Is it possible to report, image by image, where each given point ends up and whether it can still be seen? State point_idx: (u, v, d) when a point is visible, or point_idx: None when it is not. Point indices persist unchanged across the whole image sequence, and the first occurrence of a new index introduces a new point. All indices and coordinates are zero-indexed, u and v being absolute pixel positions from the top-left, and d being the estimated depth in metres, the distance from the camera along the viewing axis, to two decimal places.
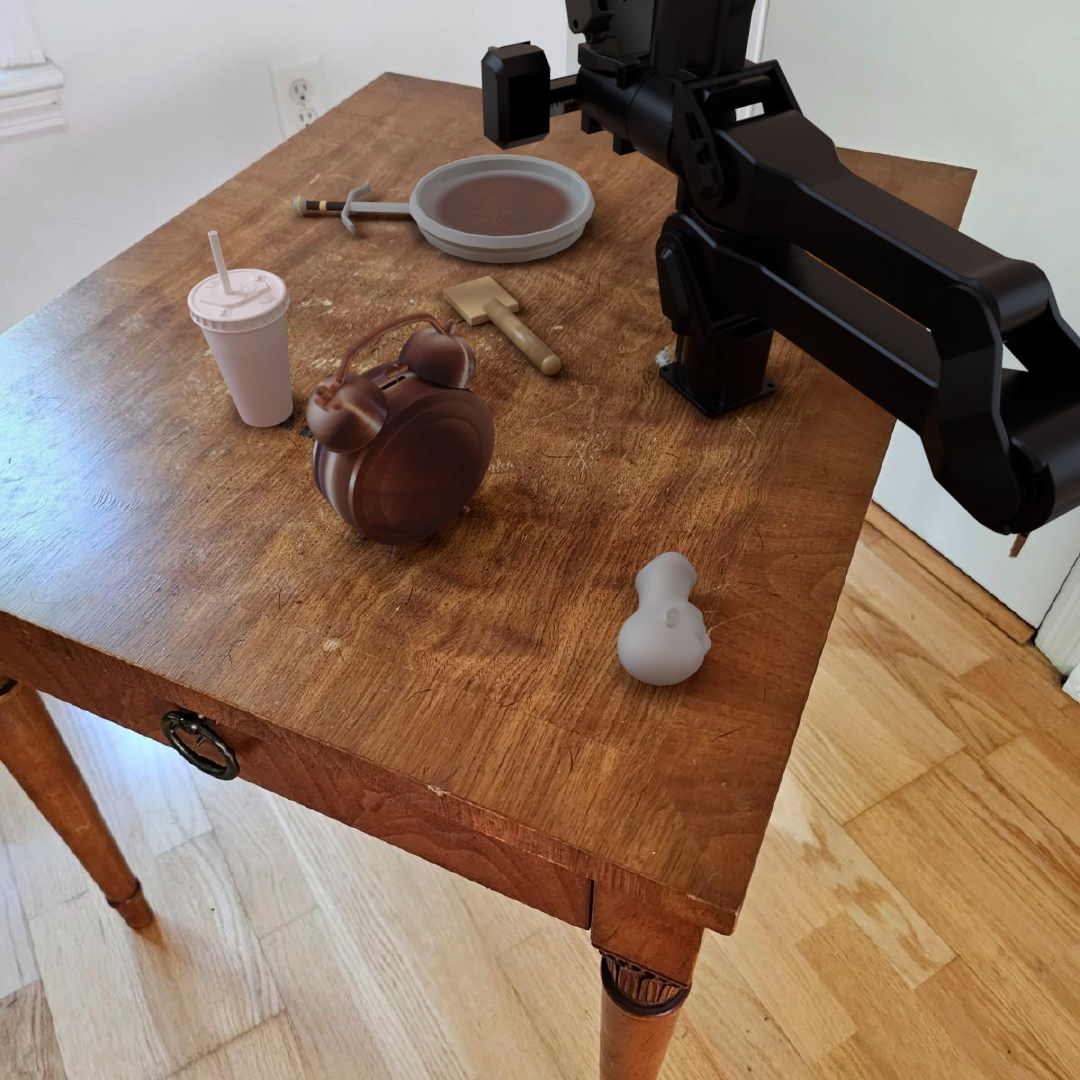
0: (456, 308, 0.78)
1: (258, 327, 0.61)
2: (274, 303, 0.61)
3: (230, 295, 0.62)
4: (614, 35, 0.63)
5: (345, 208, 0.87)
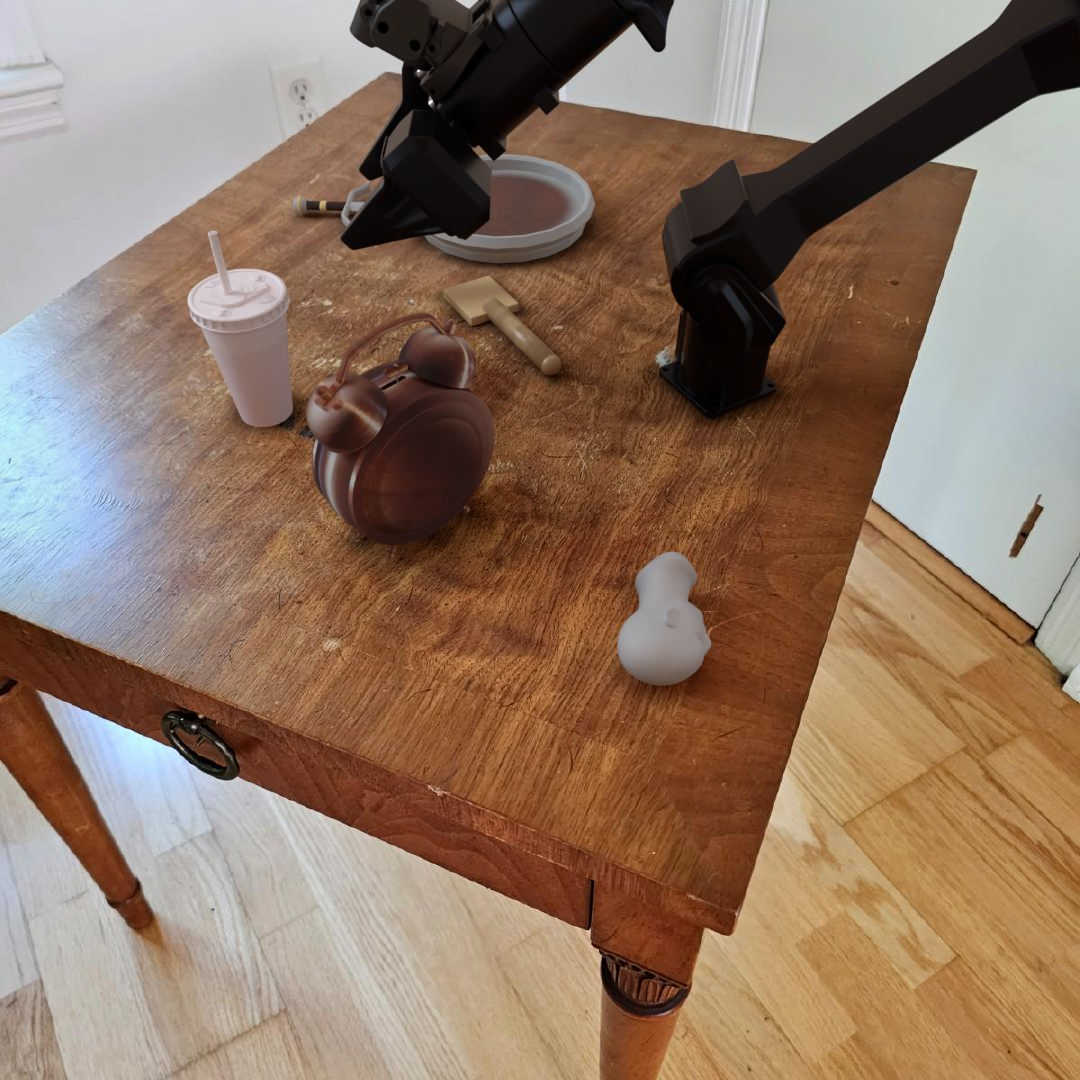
0: (456, 308, 0.78)
1: (258, 327, 0.61)
2: (274, 303, 0.61)
3: (230, 295, 0.62)
4: (445, 21, 0.52)
5: (345, 208, 0.87)
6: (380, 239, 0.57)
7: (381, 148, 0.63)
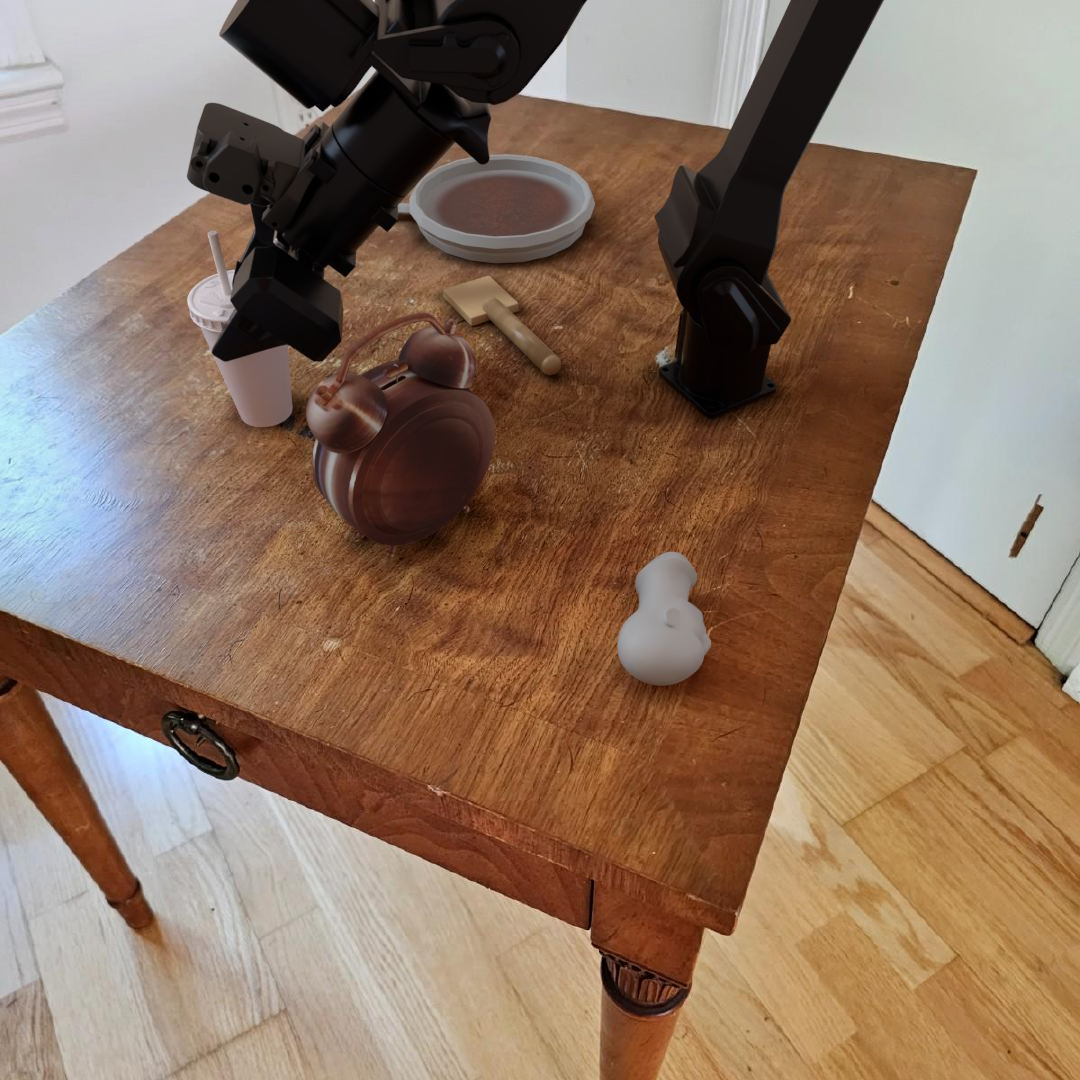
0: (456, 308, 0.78)
1: None
2: None
3: (230, 295, 0.62)
4: (275, 161, 0.54)
5: None
6: (248, 350, 0.61)
7: None
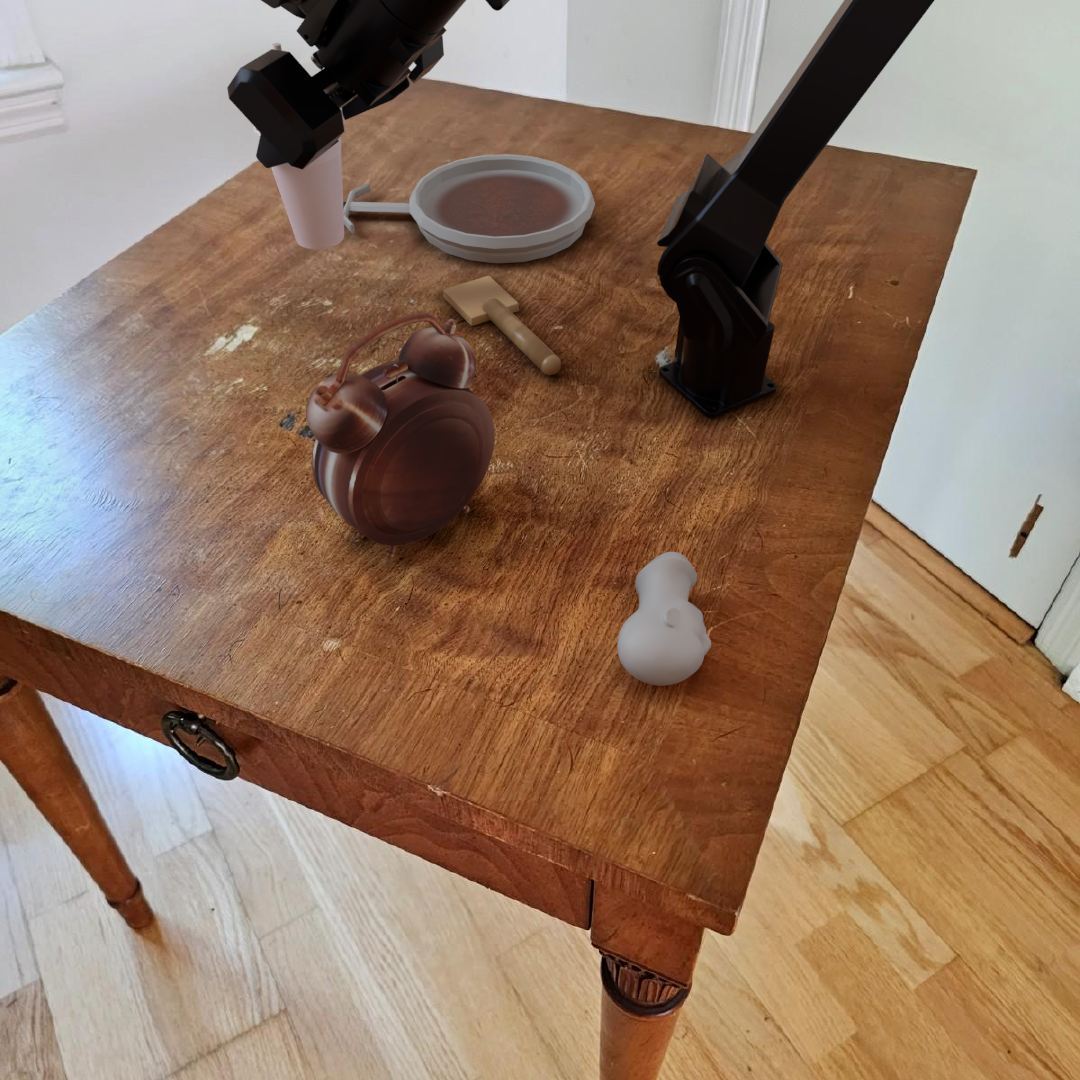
0: (456, 308, 0.78)
1: None
2: None
3: None
4: None
5: (345, 208, 0.87)
6: (280, 159, 0.66)
7: None
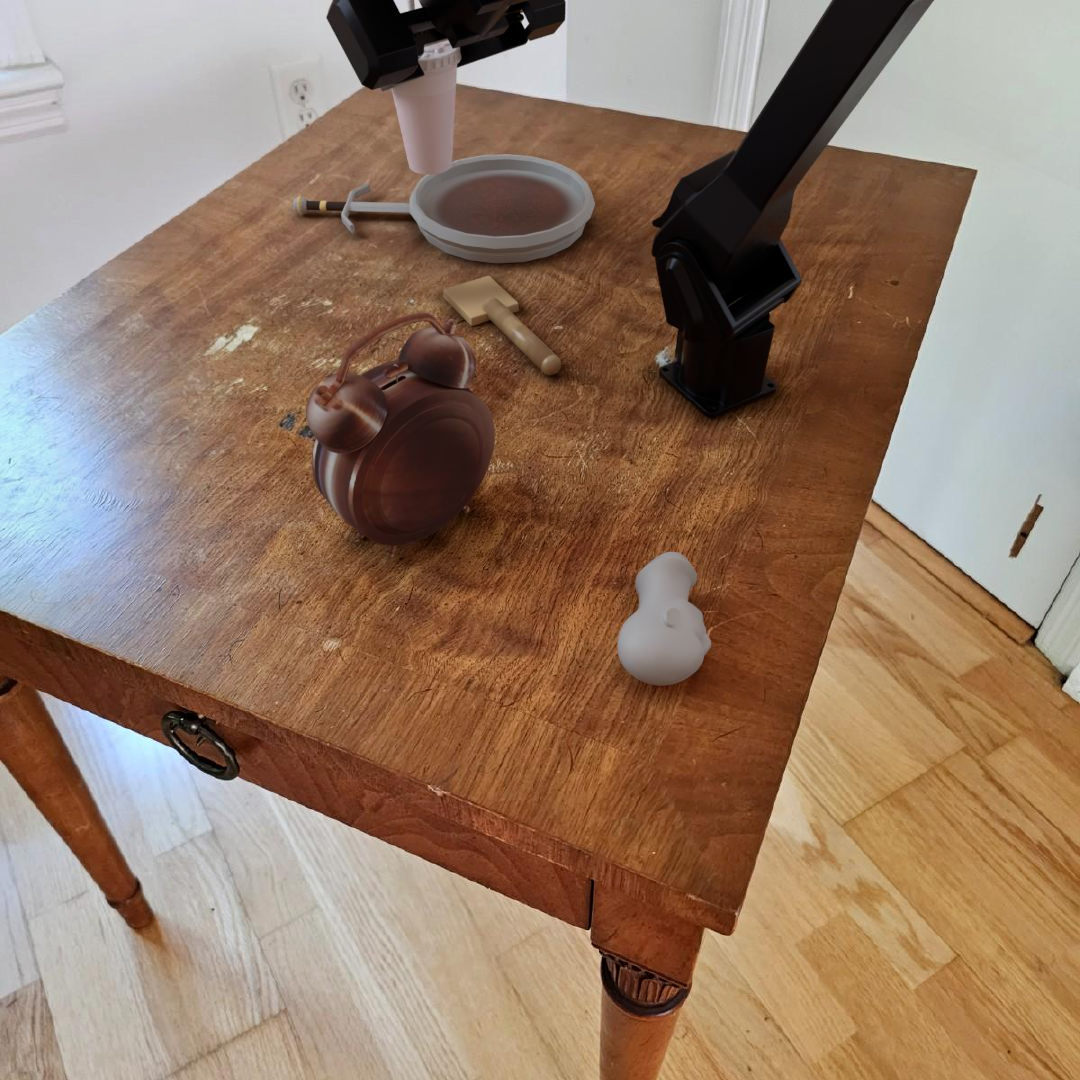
0: (456, 308, 0.78)
1: None
2: (425, 59, 0.74)
3: None
4: None
5: (345, 208, 0.87)
6: None
7: None
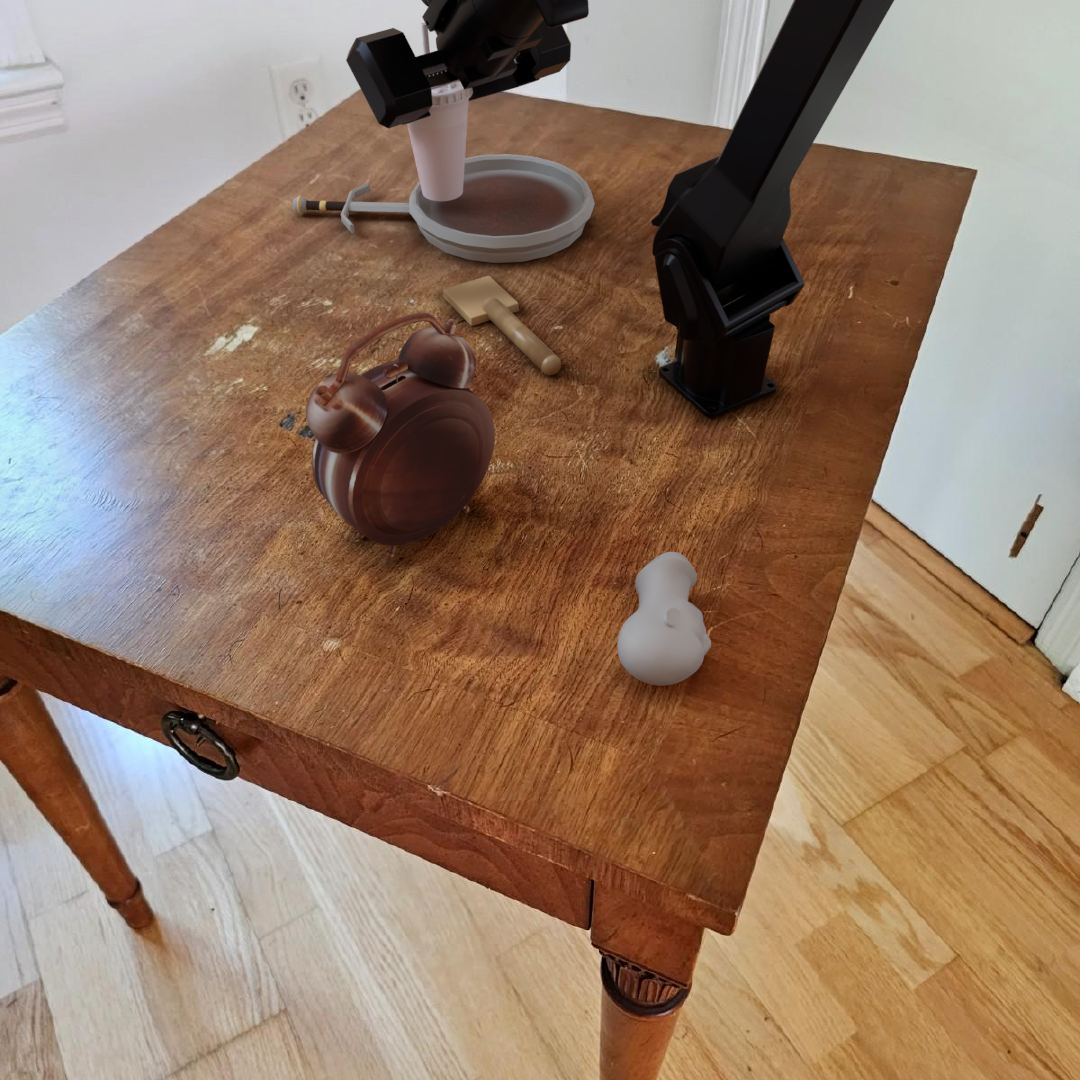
0: (456, 308, 0.78)
1: None
2: (439, 94, 0.78)
3: None
4: None
5: (345, 208, 0.88)
6: None
7: None
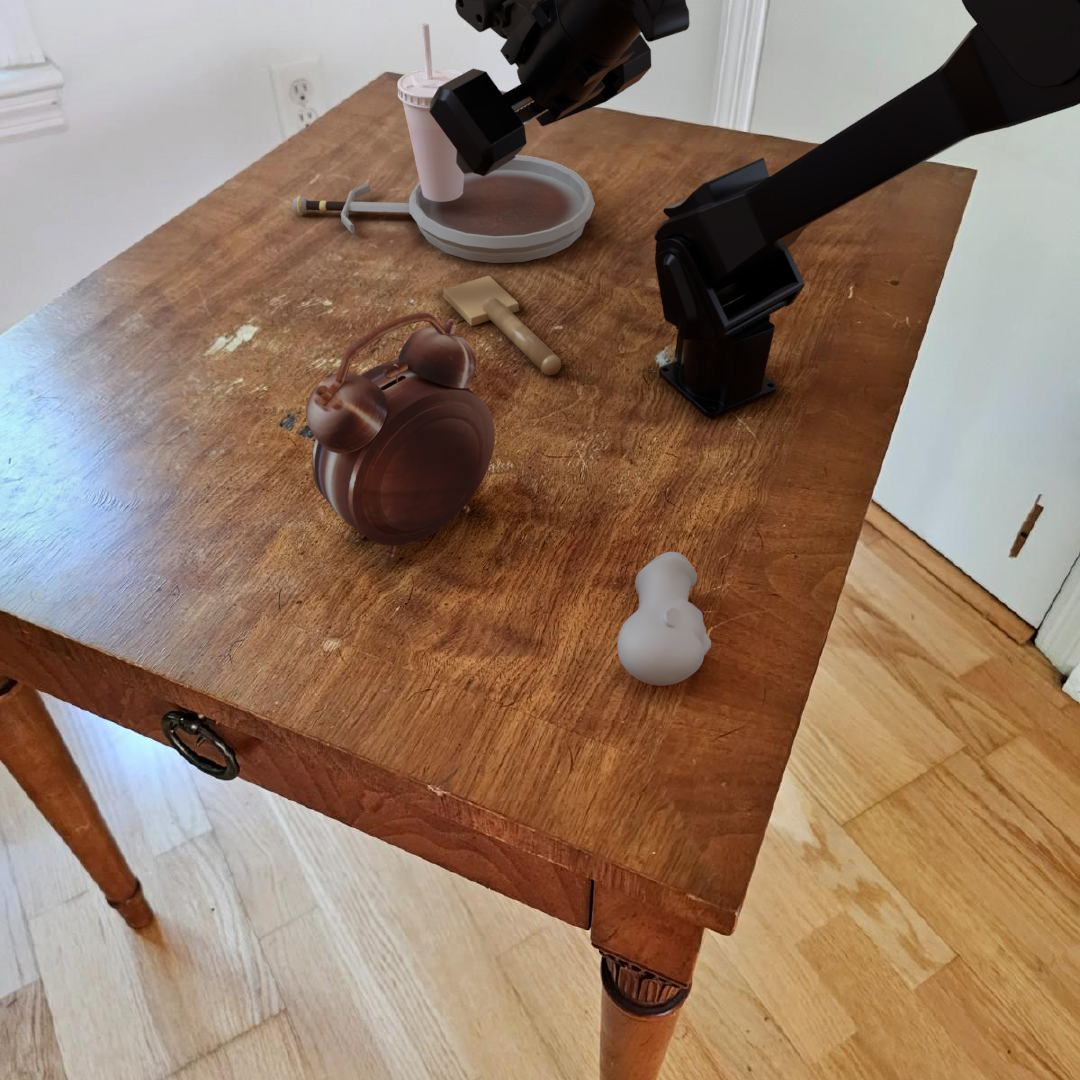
0: (456, 308, 0.78)
1: (418, 106, 0.79)
2: None
3: (427, 80, 0.80)
4: (514, 1, 0.65)
5: (345, 208, 0.88)
6: None
7: None
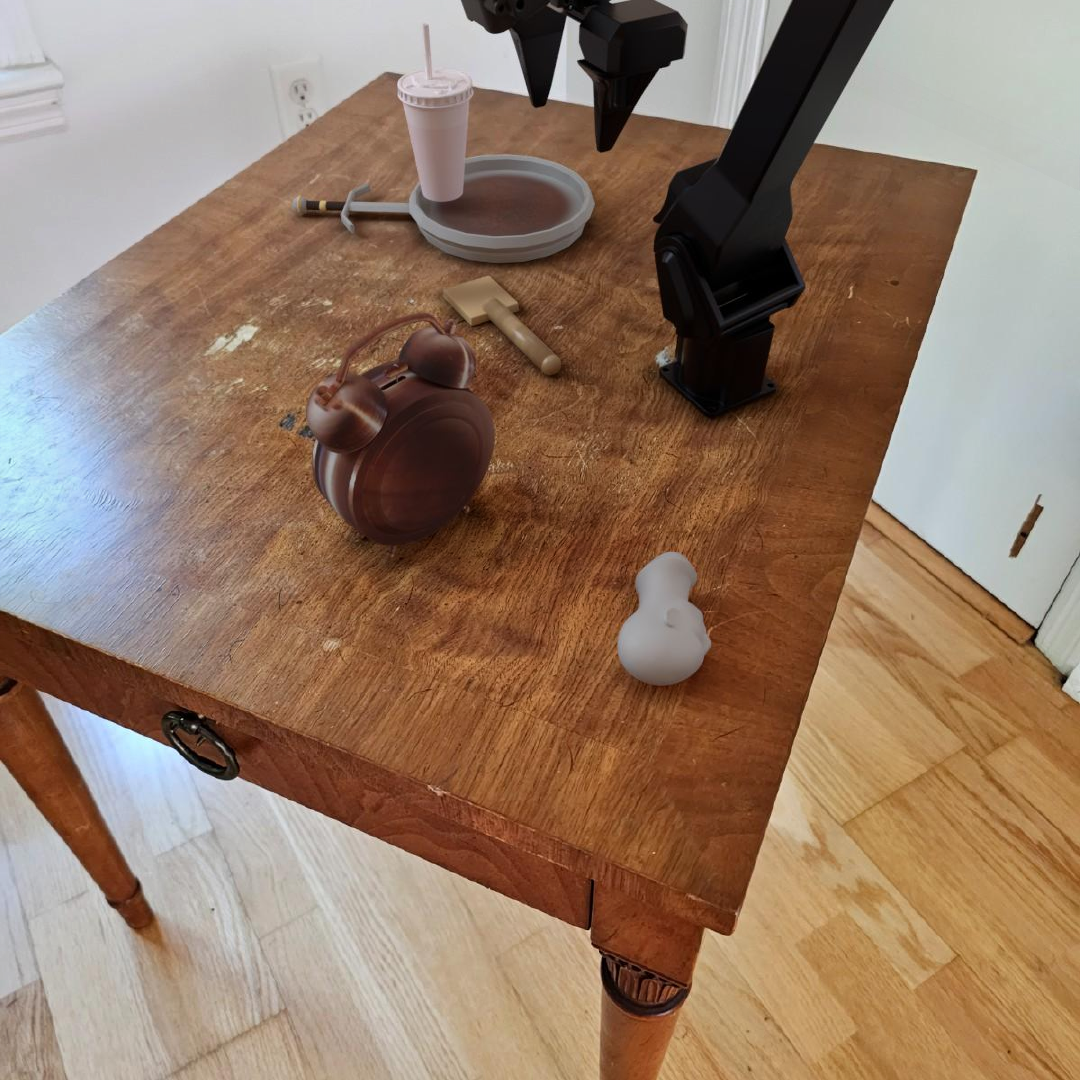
0: (456, 308, 0.78)
1: (418, 106, 0.79)
2: (440, 95, 0.78)
3: (427, 80, 0.80)
4: None
5: (345, 208, 0.88)
6: (623, 122, 0.68)
7: (534, 77, 0.73)
